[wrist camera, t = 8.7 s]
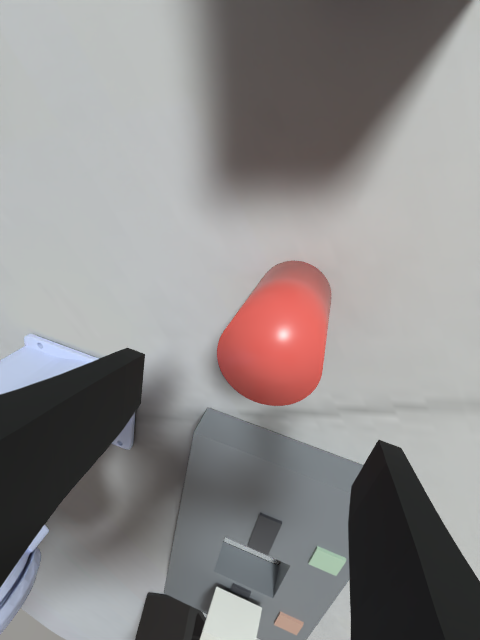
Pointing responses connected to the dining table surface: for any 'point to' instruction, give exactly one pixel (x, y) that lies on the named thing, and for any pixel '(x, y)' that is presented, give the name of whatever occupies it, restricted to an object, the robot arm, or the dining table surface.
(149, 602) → the phone stand
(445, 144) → the dining table surface
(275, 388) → the pin
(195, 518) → the breaker panel
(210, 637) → the lever
